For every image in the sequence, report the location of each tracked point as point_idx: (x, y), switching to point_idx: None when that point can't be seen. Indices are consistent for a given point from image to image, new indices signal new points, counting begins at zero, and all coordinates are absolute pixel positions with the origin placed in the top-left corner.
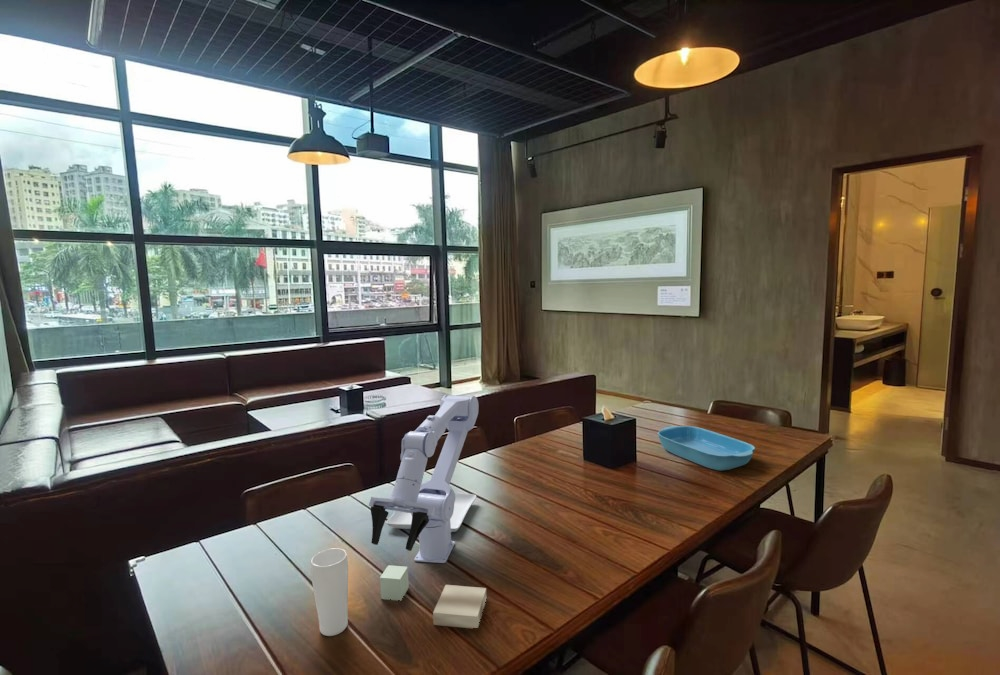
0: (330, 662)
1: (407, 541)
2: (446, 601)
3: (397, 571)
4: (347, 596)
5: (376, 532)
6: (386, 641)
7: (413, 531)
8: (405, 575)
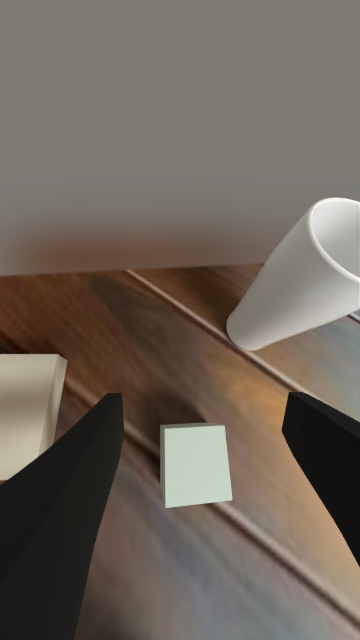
0: (208, 271)
1: (109, 409)
2: (25, 398)
3: (187, 468)
4: (248, 313)
5: (328, 424)
6: (145, 312)
7: (49, 455)
8: (163, 474)
